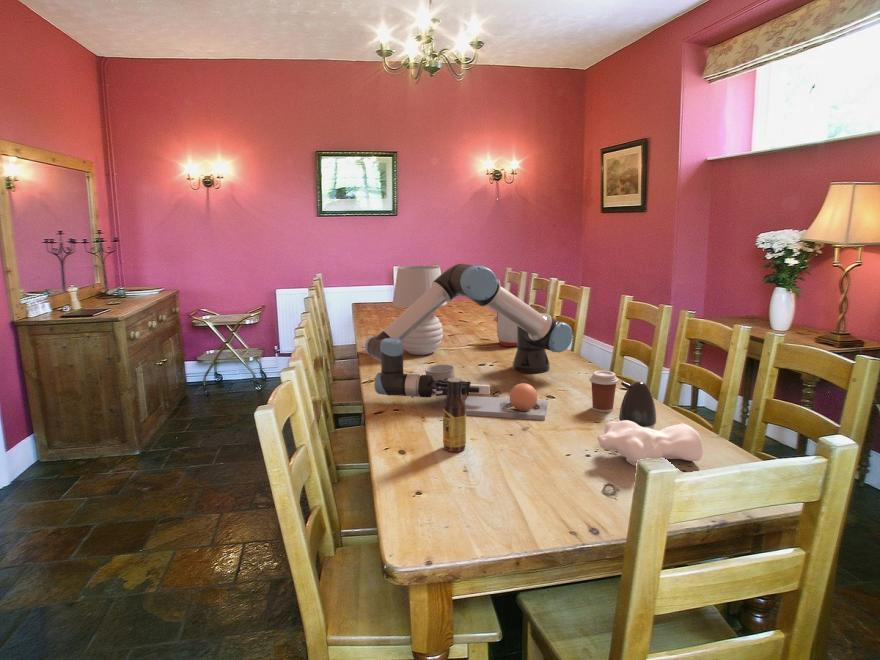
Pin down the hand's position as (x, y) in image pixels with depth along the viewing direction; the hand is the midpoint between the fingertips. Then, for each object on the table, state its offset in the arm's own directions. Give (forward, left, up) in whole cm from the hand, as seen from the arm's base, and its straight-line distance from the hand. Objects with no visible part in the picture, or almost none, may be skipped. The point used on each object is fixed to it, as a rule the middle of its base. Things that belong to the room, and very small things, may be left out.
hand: (489, 389), depth 187 cm
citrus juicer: (-45, -87, -7) cm, 98 cm away
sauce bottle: (+21, +28, -7) cm, 36 cm away
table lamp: (+1, -86, -7) cm, 86 cm away
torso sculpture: (-23, +51, -7) cm, 56 cm away
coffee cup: (-35, +12, -7) cm, 38 cm away
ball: (-10, +5, -2) cm, 11 cm away
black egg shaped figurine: (-33, +33, -7) cm, 47 cm away
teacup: (+8, -29, -7) cm, 31 cm away
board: (-4, +2, -7) cm, 8 cm away
